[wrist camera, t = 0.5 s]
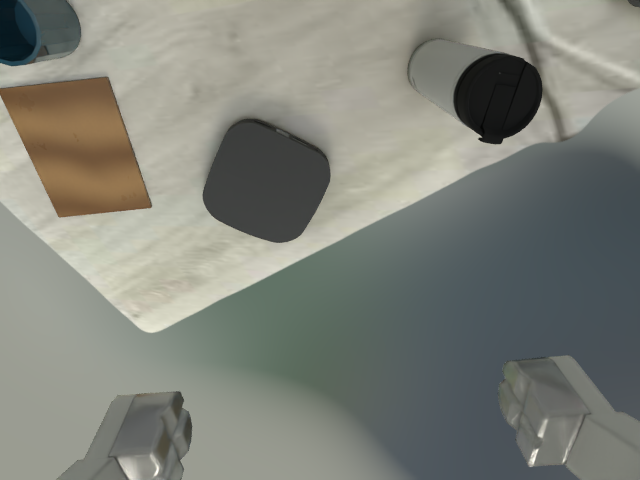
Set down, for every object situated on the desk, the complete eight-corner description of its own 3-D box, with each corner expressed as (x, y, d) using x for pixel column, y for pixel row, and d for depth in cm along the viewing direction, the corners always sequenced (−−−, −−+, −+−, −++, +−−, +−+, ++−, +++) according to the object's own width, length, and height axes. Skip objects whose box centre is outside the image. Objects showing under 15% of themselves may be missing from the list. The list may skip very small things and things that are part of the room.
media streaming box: (198, 204, 56) (193, 213, 53) (235, 106, 49) (232, 112, 47) (293, 242, 59) (293, 253, 57) (339, 156, 53) (341, 164, 51)
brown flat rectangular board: (-1, 88, 47) (-3, 89, 47) (108, 76, 47) (106, 77, 47) (60, 216, 56) (58, 217, 55) (152, 206, 56) (151, 207, 55)
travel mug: (400, 93, 49) (454, 139, 32) (415, 34, 46) (483, 49, 29) (448, 101, 50) (526, 150, 33) (466, 43, 47) (563, 64, 30)
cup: (2, -10, 42) (-56, -13, 36) (65, -17, 42) (19, -22, 35) (31, 60, 46) (-16, 69, 39) (90, 53, 46) (53, 61, 39)
